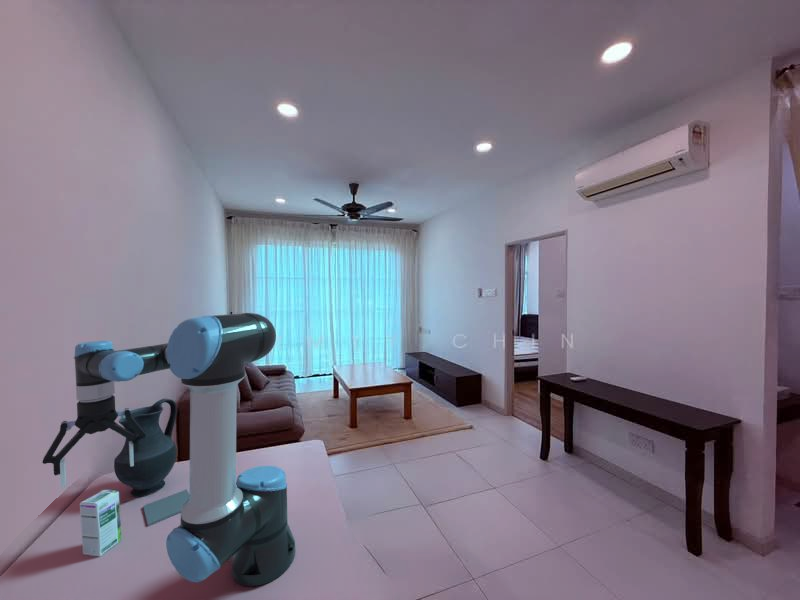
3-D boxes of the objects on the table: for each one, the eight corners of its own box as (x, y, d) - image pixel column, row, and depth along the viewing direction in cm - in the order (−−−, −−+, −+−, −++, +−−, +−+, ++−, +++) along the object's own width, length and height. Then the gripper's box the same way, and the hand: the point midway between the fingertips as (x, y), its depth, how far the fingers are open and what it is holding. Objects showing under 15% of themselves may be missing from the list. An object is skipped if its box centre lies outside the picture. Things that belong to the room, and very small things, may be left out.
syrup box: (99, 557, 84) (97, 503, 83) (81, 555, 85) (79, 501, 84) (122, 540, 89) (119, 490, 89) (104, 538, 90) (102, 488, 90)
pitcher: (102, 501, 107) (98, 414, 106) (159, 468, 127) (156, 394, 126) (145, 506, 104) (141, 416, 103) (196, 471, 124) (193, 396, 123)
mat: (194, 506, 103) (194, 504, 103) (147, 526, 95) (147, 524, 95) (186, 490, 112) (186, 489, 112) (143, 507, 103) (143, 505, 103)
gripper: (152, 385, 98) (154, 452, 98) (28, 406, 80) (32, 488, 81) (155, 390, 92) (158, 461, 93) (23, 414, 75) (27, 502, 75)
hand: (99, 474), depth 87 cm, fingers open, 13 cm apart
